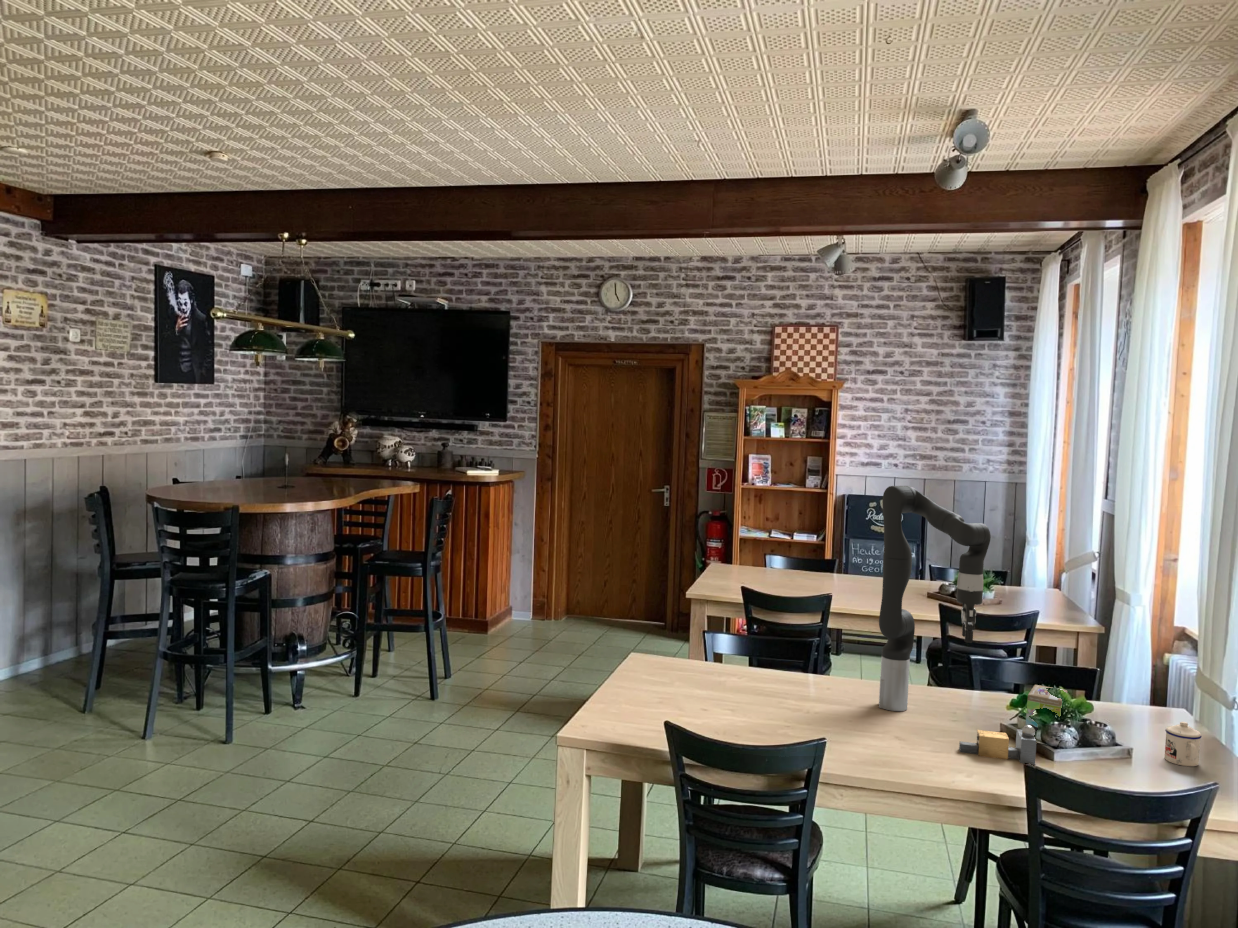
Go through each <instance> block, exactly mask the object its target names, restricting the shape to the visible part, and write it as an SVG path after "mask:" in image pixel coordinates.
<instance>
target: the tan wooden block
mask: <svg viewBox="0 0 1238 928" xmlns="http://www.w3.org/2000/svg"><path fill="white" fill-rule="evenodd" d="M976 743H978V745H979V749H978V754H977V755H978V757H985V758H992V759H993V758H994V759H1000V760H1008V759H1009V758H1008V747H1010V746H1009V745H1010V744H1009V743H1010V739H1009V736H1008V734H1007V732H1000V731H999V732H998V731H991V730H982V729H977V730H976Z"/></svg>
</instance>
